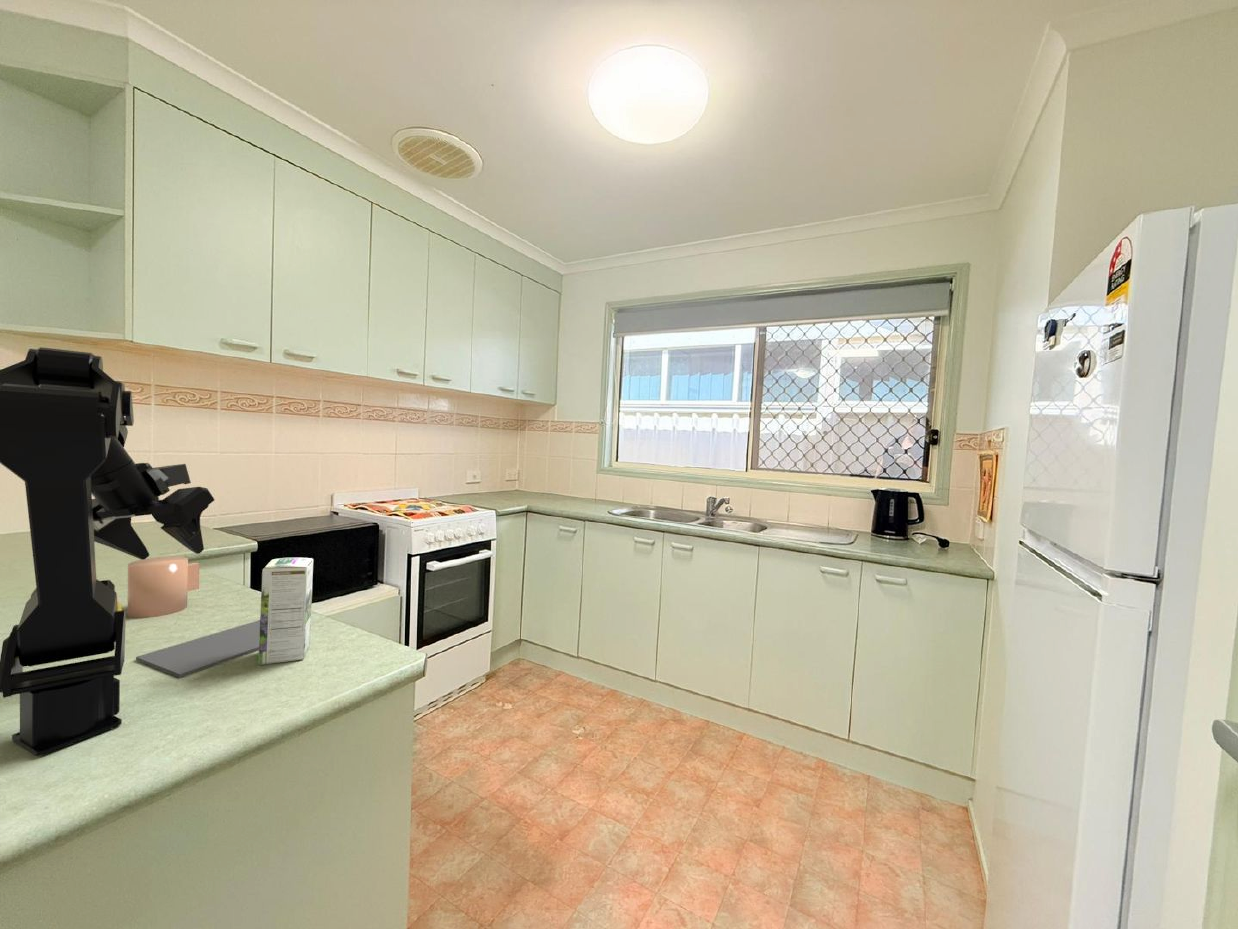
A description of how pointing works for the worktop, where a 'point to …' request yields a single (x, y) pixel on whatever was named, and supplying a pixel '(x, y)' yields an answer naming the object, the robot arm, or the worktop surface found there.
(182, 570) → the terracotta mug
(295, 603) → the syrup box
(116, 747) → the worktop surface
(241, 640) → the mat
